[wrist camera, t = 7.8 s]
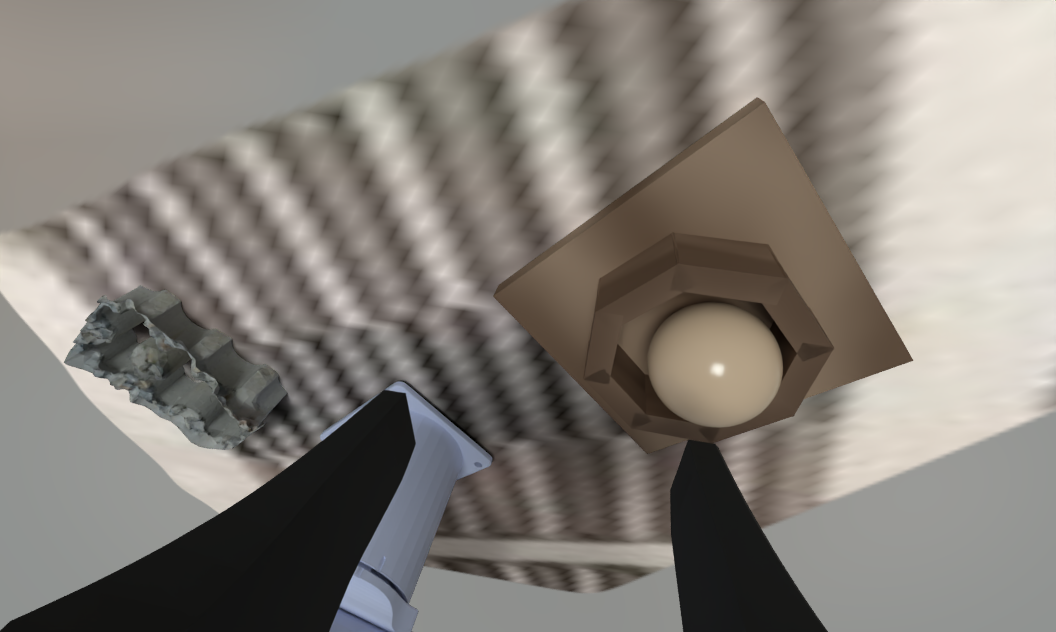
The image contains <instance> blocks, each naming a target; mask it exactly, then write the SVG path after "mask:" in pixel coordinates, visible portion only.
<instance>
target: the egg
mask: <svg viewBox="0 0 1056 632" xmlns="http://www.w3.org/2000/svg"><path fill="white" fill-rule="evenodd" d="M647 367H648V374H649V378H650V381H651V384H652V387H653V389H654V390H655V392H656V394H657V396H658V397H659V398H660V400H661V401H662V402H663V403H664V404H665V406H666V407H668V408H669V409H670V410H671V411H672V412H673V413H675V414H676V415H678V416H679V417H681V418H683V419H684V420H687V421H689V422H691V423H694V424H697V425H701V426H706V427H731V426H735V425H739V424H742V423H744V422H747V421H749V420H751V419H753V418H754V417H756V416H757V415H759V414H760V413H762V412H763V411H764V410H765V409H766V408H767V407H768V406H769V404H770V403H771V402H772V401H773V399H774V398H775V396H776V394H777V392H778V390H779V387H780V385H781V381H782V375H783V360H782V354H781V351H780V348H779V345H778V343H777V341H776V339H775V337H774V335H773V334H772V332H771V331H770V329H769V328H768V327H767V326H766V325H765V324H764V323H763V322H762V321H761V320H760V319H759V318H757V317H756V316H755V315H753V314H752V313H750V312H748V311H746V310H745V309H742V308H740V307H737V306H734V305H731V304H726V303H721V302H703V303H697V304H693V305H690V306H687V307H685V308H682V309H680V310H678V311H677V312H675V313H674V314H672V315H671V316H669V317H668V318H667V319H666V320H665V321H664V322H663V323H662V324H661V325H660V326H659V328H658V329H657V331H656V332H655V334H654V336H653V338H652V340H651V343H650V346H649V350H648V357H647Z"/></svg>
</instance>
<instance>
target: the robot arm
mask: <svg viewBox="0 0 1056 632" xmlns="http://www.w3.org/2000/svg"><path fill="white" fill-rule="evenodd" d="M320 438H321V440H322V441H321V442H320V443H319V444H318V445H316V446H315V447H314V448H313V449H311V450H310V451H309V452H308V453H306V454H305V455H304V456H302V457H301V458H300V459H298V460H297V461H296V462H294V463H293V464H292V465H290V466H289V467H288V468H286V469H285V470H284V471H282V472H281V473H280V474H278V475H277V476H275V477H274V478H273V479H271V480H270V481H268V482H267V483H266V484H264V485H263V486H261V487H260V488H258V489H257V490H255V491H254V492H253V493H251V494H250V495H248V496H247V497H245V498H243V499H242V500H240V501H239V502H237V503H236V504H234V505H233V506H231V507H230V508H228V509H227V510H225V511H223V512H222V513H220V514H218V515H217V516H215V517H214V518H212V519H210V520H209V521H207V522H205V523H203V524H202V525H200V526H198V527H196V528H195V529H193V530H191V531H190V532H188V533H186V534H185V535H183V536H181V537H179V538H178V539H176V540H174V541H172V542H171V543H169V544H167V545H165V546H164V547H162V548H160V549H158V550H156V551H154V552H152V553H151V554H149V555H147V556H145V557H143V558H141V559H139V560H138V561H136V562H134V563H132V564H130V565H128V566H126V567H124V568H122V569H120V570H118V571H116V572H114V573H112V574H110V575H108V576H106V577H104V578H102V579H100V580H98V581H96V582H94V583H92V584H90V585H88V586H86V587H84V588H81V589H79V590H78V591H75V592H73V593H71V594H69V595H67V596H64V597H62V598H60V599H58V600H56V601H53V602H52V603H49V604H47V605H45V606H43V607H40V608H38V609H36V610H34V611H32V612H30V613H28V614H25V615H23V616H21V617H18V618H16V619H14V620H12V621H10V622H9V623H8V624H7V625H6V626H5V627H4V628H3V629H1V630H0V632H412V628H413V625H414V622H415V620H416V617H417V614H418V610H417V609H416V608H414V607H412V606H411V605H409V602H410V599H411V597H412V594H413V592H414V589H415V586H416V584H417V581H418V578H419V576H420V573H421V571H422V568H423V565H424V563H425V560H426V558H427V555H428V552H429V550H430V547H431V545H432V542H433V539H434V537H435V534H436V532H437V529H438V526H439V524H440V521H441V518H442V516H443V513H444V511H445V508H446V505H447V503H448V500H449V498H450V495H451V492H452V490H453V487H454V485H455V482H456V480H458V479H461V478H463V477H465V476H468V475H470V474H472V473H475V472H477V471H479V470H482V469H484V468H487V467H489V466H490V465H491V463H492V460H493V459H492V457H491V456H490V455H489V454H488V453H487V452H486V451H485V450H484V449H482V448H481V447H480V446H479V445H478V444H477V443H475V442H474V441H473V440H472V439H471V438H469V437H468V436H467V435H466V434H465V433H464V432H462V431H461V430H460V429H459V428H458V427H457V426H455V425H454V424H453V423H452V422H451V421H449V420H448V419H447V418H446V417H445V416H444V415H442V414H441V413H440V412H439V411H438V410H437V409H435V408H434V407H433V406H432V405H431V404H429V403H428V402H427V401H426V400H425V399H424V398H422V397H421V396H420V395H419V394H418V393H417V392H415V391H414V390H413V389H412V388H411V387H409V386H408V385H407V384H406V383H404V382H399V381H398V382H395V383H394V384H392V385H391V386H389V387H388V388H386V389H385V390H383V391H382V392H380V393H379V394H378V395H376V396H375V397H373V398H372V399H370V400H369V401H367V402H366V403H364V404H363V405H361V406H360V407H358V408H357V409H355V410H354V411H353V412H351V413H350V414H348V415H347V416H345V417H344V418H342V419H341V420H339V421H338V422H336V423H335V424H333V425H332V426H331V427H329V428H328V429H326V430H325V431H323V433H322V434H321V435H320ZM670 502H671V537H672V545H673V554H674V562H675V570H676V578H677V584H678V593H679V601H680V608H681V616H682V625H683V632H828V631H827V630H826V629H825V627H824V626H823V624H822V623H821V621H820V620H819V619H818V617H817V616H816V614H815V613H814V611H813V610H812V608H811V607H810V606H809V604H808V603H807V601H806V600H805V598H804V597H803V595H802V594H801V592H800V591H799V589H798V587H797V586H796V585H795V583H794V581H793V580H792V578H791V577H790V575H789V573H788V572H787V571H786V569H785V567H784V566H783V564H782V563H781V561H780V559H779V558H778V556H777V554H776V553H775V551H774V550H773V548H772V546H771V545H770V543H769V541H768V539H767V538H766V536H765V534H764V533H763V531H762V529H761V527H760V526H759V524H758V522H757V521H756V519H755V517H754V515H753V514H752V512H751V510H750V508H749V506H748V505H747V503H746V501H745V499H744V497H743V495H742V493H741V492H740V490H739V488H738V486H737V484H736V482H735V480H734V478H733V476H732V474H731V472H730V470H729V468H728V466H727V464H726V462H725V460H724V458H723V456H722V454H721V452H720V450H719V448H718V447H717V446H716V444H712V443H706V442H700V441H694V440H688V442H687V445H686V448H685V450H684V453H683V456H682V459H681V462H680V465H679V467H678V470H677V473H676V476H675V479H674V481H673V484H672V487H671V490H670Z"/></svg>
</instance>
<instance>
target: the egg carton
mask: <svg viewBox="0 0 1056 632" xmlns="http://www.w3.org/2000/svg"><path fill="white" fill-rule="evenodd" d="M97 303H100V305H99V306H98V307H97V309H96V310H95V311H94V312H93V313H91V314H90V315H89V316H88V318H87V319H86V320H85V321H87V323H86V325H85V326H84V327H83V328H82V329H81V330H80V331H81V332H80V334H79V335H78V336H77V338H76V339H75V340H74V341H73V343H76V344H75V345H74V347H73V348H72V349H71V350H70V352H69V353H68V355H67V357H66V359H65V361H64V363H65V364H67V365H69V366H73V367H76V368H80V369H83V370H86V371H88V372H91V373H93V375H94V376H95V377H98V378H106V379H108V380H109V382H110V385H112V386H114V387H115V389H117V390H120V389H126V390H128V391H129V394H130V402H132V403H135V404H139V405H142V406H145V407H147V408H149V409H150V410H152V411H153V412H154V413H155V414H157V415H158V416H159V417H161V418H163V419H166V420H168V421H171V422H172V423H173V424H175V425H176V426H177V427H178V428H179V429H180V430H181V431H182V433H183V434H184V435H185V436H186V437H187V438H188V439H189V441H190V442H192V443H194V444H195V445H197V446H199V447H203V448H209V449H222V450H226V449H232V448H234V447H235V446H236V445H238V444H239V443H240V442H242V441H243V440H244V439H245V438H246V437H248V436H249V435H250V434H252V433H253V432H255V431H257V430H258V429H259V428H261V427H262V426H263V425H265V424H266V423H263V422H262V421H263V420H264V419H265V418H266V417H267V415H268V414H269V412H270V411H271V410H272V409H273V408H274V407H275V406H276V405H277V404H278V403H279V402H280V401H281V399H282V398H283V397H284V396H285V395H286V394H287V392H286V391H285V390H284V388H283V387H282V386H281V384H280V383H279V379H278V378H279V375H278V373H277V372H276V371H275V370H273V369H272V368H270V367H269V366H268V365H266V364H264V365H254V364H251V363H249V362H247V361H245V360H243V359H242V358H241V357H240V356H238V354H237V353H236V352H235V350H234V349H233V347H232V338H230V337H229V336H227V335H225V334H224V333H222V332H220V331H219V330H217V329H213V330H207V329H204V328H201V327H199V326H197V325H196V324H194V323H193V322H191V321H190V320H189V319H188V318H187V317H186V316H185V314H184V312H183V310H182V307H181V301H180V300H179V299H178V298H177V297H176V296H174V295H173V294H172V293H170V292H168V291H167V290H162V291H160V292H156V291H152V290H149V289H147V288H145V287H143V286H141V285H140V286H139V287H137V288H136V289H134V290H132V291H131V292H129V293H127V294H125V295H123V296H122V297H120V298H118V299H116V300H114V301H110V300H108V299H107V296H105V295H104V296H102V297H101V298H100V299H99V300H98V301H97ZM145 320H146V321H145ZM143 321H145V322H144V323H143V325H145V326H146V327H147V328H149V335H150V336H151V337H150V338H148V339H147V340H145V341H144V342H142V343H141V344H139V343H138V342H137V337H136V334H135V332H134V331H133V330H132V328H134V327H135V326H137V325H139V324H140V323H142V322H143ZM190 359H192V362H191V375H192V378H194V379H196V380H202V381H205V382H200V383H196V382H194V381H193V380H191V379H190V378H188V377H187V376H186V375H184V368H183V365H184V364H185V363H187V362H188V361H189V360H190Z"/></svg>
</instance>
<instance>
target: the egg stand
mask: <svg viewBox="0 0 1056 632" xmlns="http://www.w3.org/2000/svg"><path fill="white" fill-rule="evenodd" d="M493 297H494V298H495V299H496V300H497V301H498V302H499V303H500V304H501V305H502V306H503V307H504V308H505V309H506V310H507V311H508V312H509V313H510V314H511V315H512V316H513V317H514V318H515V319H516V320H517V321H518V322H519V323H520V324H521V325H522V326H523V327H524V328H525V329H526V330H527V331H528V332H529V334H530V335H531V336H532V337H533V338H534V339H535V340H536V341H537V342H538V343H539V344H540V345H541V346H542V347H543V348H544V349H545V350H546V351H547V352H548V353H549V354H550V355H551V356H552V357H553V358H554V359H555V360H556V361H557V362H558V363H559V364H560V365H561V366H562V367H563V368H564V369H565V370H566V371H567V372H568V373H569V374H570V375H571V377H572V378H573V379H574V380H575V381H576V382H577V383H578V384H579V385H580V386H581V387H582V388H583V389H584V390H585V391H586V392H587V393H588V394H589V395H590V396H591V397H592V398H593V399H594V400H595V401H596V402H597V403H598V404H599V405H600V406H601V407H602V408H603V409H604V410H605V411H606V412H607V413H608V414H609V415H610V416H611V417H612V418H613V419H614V421H615V422H616V423H617V424H618V425H619V426H620V427H621V428H622V429H623V430H624V431H625V432H626V433H627V434H628V435H629V436H630V437H631V438H632V439H633V440H634V441H635V442H636V443H637V444H638V445H639V446H640V447H641V448H642V449H643V450H644V451H645V452H646V453H647V454H649V453H652V452H654V451H657V450H660V449H663V448H666V447H669V446H672V445H674V444H677V443H680V442H683V441H686V440H689V439H690V440H696V441H701V442H706V443H712V444H713V443H714V442H717V441H720V440H723V439H726V438H729V437H732V436H735V435H738V434H741V433H744V432H747V431H750V430H753V429H756V428H759V427H762V426H765V425H768V424H771V423H774V422H777V421H780V420H783V419H786V418H789V417H793V416H795V415H794V414H795V413H796V411H797V409H798V408H799V406H800V404H801V403H802V401H803V399H805V398H808V397H811V396H814V395H817V394H820V393H822V392H825V391H828V390H831V389H834V388H837V387H839V386H842V385H845V384H848V383H851V382H854V381H856V380H859V379H862V378H865V377H868V376H871V375H874V374H876V373H879V372H882V371H885V370H888V369H891V368H893V367H896V366H899V365H902V364H905V363H908V362H911V361H913V359H912V357H911V356H910V354H909V352H908V350H907V349H906V347H905V345H904V343H903V342H902V340H901V338H900V336H899V335H898V333H897V331H896V329H895V328H894V326H893V324H892V322H891V321H890V319H889V317H888V315H887V314H886V312H885V310H884V309H883V307H882V305H881V303H880V302H879V300H878V298H877V296H876V295H875V293H874V291H873V289H872V288H871V286H870V284H869V282H868V281H867V279H866V277H865V275H864V274H863V272H862V270H861V268H860V267H859V265H858V263H857V262H856V260H855V258H854V256H853V255H852V253H851V251H850V249H849V248H848V246H847V244H846V242H845V241H844V239H843V237H842V235H841V234H840V232H839V230H838V228H837V227H836V225H835V223H834V222H833V220H832V218H831V216H830V215H829V213H828V211H827V209H826V208H825V206H824V204H823V202H822V201H821V199H820V197H819V195H818V194H817V192H816V190H815V188H814V187H813V185H812V183H811V181H810V180H809V178H808V176H807V175H806V173H805V171H804V169H803V168H802V166H801V164H800V162H799V161H798V159H797V157H796V155H795V154H794V152H793V150H792V148H791V147H790V145H789V143H788V141H787V140H786V138H785V136H784V134H783V133H782V131H781V129H780V128H779V126H778V124H777V122H776V121H775V119H774V117H773V115H772V114H771V112H770V110H769V108H768V107H767V105H766V103H765V102H764V101H762V100H761V99H759V98H758V97H757V98H756V99H754V100H753V101H752V102H750V103H749V104H747V105H746V106H745V107H743V108H742V109H741V110H739V111H738V112H736V113H735V114H734V115H732V116H731V117H730V118H728V119H727V120H725V121H724V122H723V123H721V124H720V125H718V126H717V127H716V128H714V129H713V130H712V131H710V132H709V133H707V134H706V135H705V136H703V137H702V138H701V139H699V140H698V141H696V142H695V143H694V144H692V145H691V146H690V147H688V148H687V149H685V150H684V151H683V152H681V153H680V154H679V155H677V156H676V157H674V158H673V159H672V160H670V161H669V162H668V163H666V164H665V165H663V166H662V167H661V168H659V169H658V170H657V171H655V172H654V173H652V174H651V175H650V176H648V177H647V178H646V179H644V180H643V181H641V182H640V183H639V184H637V185H636V186H634V187H633V188H632V189H630V190H629V191H628V192H626V193H625V194H623V195H622V196H621V197H619V198H618V199H617V200H615V201H614V202H612V203H611V204H610V205H608V206H607V207H606V208H604V209H603V210H601V211H600V212H599V213H597V214H596V215H595V216H593V217H592V218H590V219H589V220H588V221H586V222H585V223H584V224H582V225H581V226H579V227H578V228H577V229H575V230H574V231H573V232H571V233H570V234H568V235H567V236H566V237H564V238H563V239H562V240H560V241H559V242H557V243H556V244H555V245H553V246H552V247H550V248H549V249H548V250H546V251H545V252H544V253H542V254H541V255H539V256H538V257H537V258H535V259H534V260H533V261H531V262H530V263H528V264H527V265H526V266H524V267H523V268H522V269H520V270H519V271H517V272H516V273H515V274H513V275H512V276H511V277H509V278H508V279H506V280H505V281H504V282H502V283H501V284H500V285H499V286H498V288H497V290H496V292H495V294H494V296H493ZM703 302H721V303H726V304H731V305H734V306H737V307H740V308H742V309H745V310H746V311H748V312H750V313H752V314H753V315H755V316H756V317H757V318H759V319H760V320H761V321H762V322H763V323H764V324H765V325H766V326H767V327H768V328H769V329H770V331H771V332H772V334H773V335H774V337H775V339H776V341H777V343H778V345H779V348H780V351H781V354H782V360H783V375H782V381H781V385H780V387H779V390H778V392H777V394H776V396H775V398H774V399H773V401H772V402H771V403H770V404H769V406H768V407H767V408H766V409H765V410H764V411H763V412H762V413H760V414H759V415H757V416H756V417H754V418H753V419H751V420H749V421H747V422H744V423H742V424H739V425H735V426H731V427H706V426H701V425H697V424H694V423H691V422H689V421H687V420H684V419H683V418H681V417H679V416H678V415H676V414H675V413H673V412H672V411H671V410H670V409H669V408H668V407H666V406H665V404H664V403H663V402H662V401H661V400H660V398H659V397H658V396H657V394H656V392H655V390H654V389H653V387H652V384H651V381H650V378H649V374H648V367H647V357H648V350H649V346H650V343H651V340H652V338H653V336H654V334H655V332H656V331H657V329H658V328H659V326H660V325H661V324H662V323H663V322H664V321H665V320H666V319H667V318H668V317H669V316H671V315H672V314H674V313H675V312H677V311H678V310H680V309H682V308H685V307H687V306H690V305H693V304H697V303H703Z"/></svg>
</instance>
